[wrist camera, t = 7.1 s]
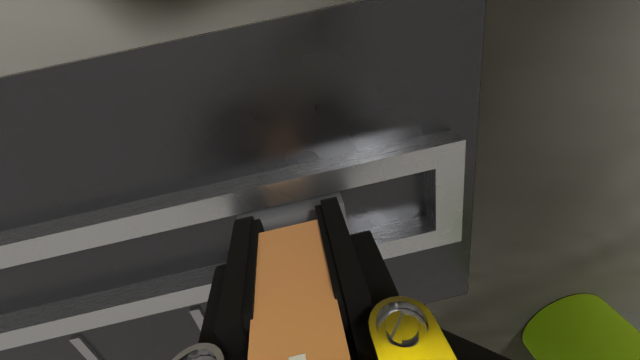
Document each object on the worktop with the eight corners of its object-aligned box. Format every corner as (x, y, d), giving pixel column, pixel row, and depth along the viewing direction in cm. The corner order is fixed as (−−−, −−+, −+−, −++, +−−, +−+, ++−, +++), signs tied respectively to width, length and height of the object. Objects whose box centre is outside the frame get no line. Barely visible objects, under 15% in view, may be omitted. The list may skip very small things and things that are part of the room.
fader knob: (233, 202, 11) (187, 419, 5) (337, 179, 11) (409, 364, 5) (256, 264, 12) (242, 488, 6) (348, 242, 12) (415, 444, 6)
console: (-263, 132, 10) (-492, 183, 7) (444, -18, 11) (511, -31, 8) (3, 362, 16) (-59, 442, 13) (442, 257, 17) (479, 310, 14)
